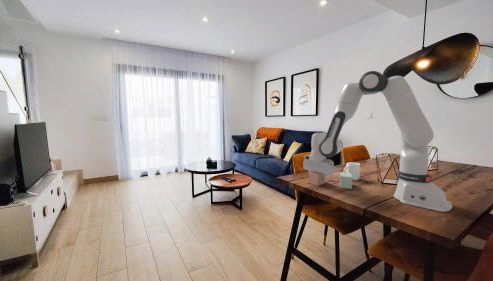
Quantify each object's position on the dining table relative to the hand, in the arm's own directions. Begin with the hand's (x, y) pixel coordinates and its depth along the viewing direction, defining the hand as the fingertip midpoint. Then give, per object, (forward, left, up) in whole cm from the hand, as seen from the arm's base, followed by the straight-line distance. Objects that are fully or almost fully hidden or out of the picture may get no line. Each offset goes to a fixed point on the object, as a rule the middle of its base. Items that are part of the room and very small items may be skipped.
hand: (317, 179), depth 136 cm
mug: (-9, -24, -3) cm, 26 cm away
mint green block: (-14, -8, -3) cm, 16 cm away
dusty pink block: (0, 0, -3) cm, 3 cm away
